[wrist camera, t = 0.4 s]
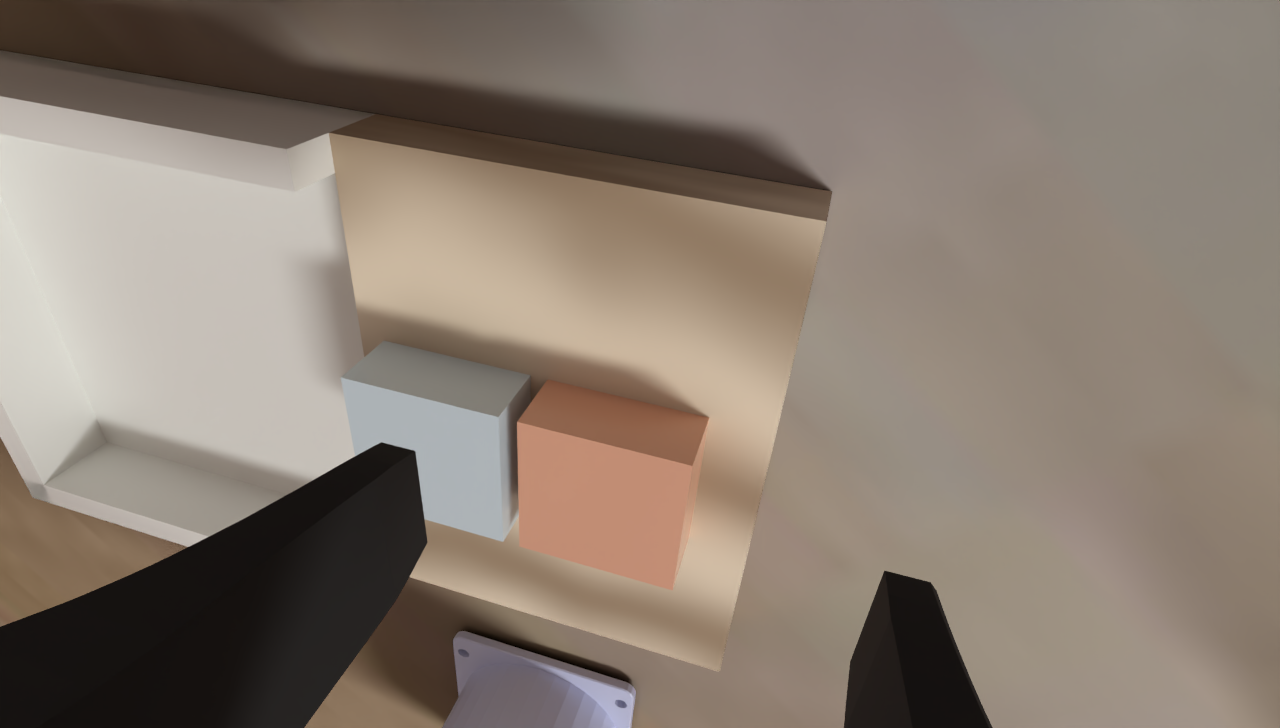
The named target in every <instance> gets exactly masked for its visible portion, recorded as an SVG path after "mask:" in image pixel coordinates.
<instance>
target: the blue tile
mask: <svg viewBox="0 0 1280 728" xmlns="http://www.w3.org/2000/svg"><path fill="white" fill-rule="evenodd" d="M341 382H342V387H343V393H344V398H345V404H346V409H347V415H348V420H349V425H350V431H351V436H352V442H353V447H354V453H355V456H356V455H358V454H360V453H362V452H364V451H365V450H367V449H369V448H371V447H373V446H375V445H377V444H379V443H381V442H382V443H386V444H390V445H394V446H398V447H402V448H406V449H410V450H414V451H415V452H416V459H417V467H418V474H419V482H420V489H421V497H422V504H423V512H424V519H425V520H429V521H432V522H436V523H439V524H443V525H446V526H450V527H453V528H457V529H460V530H463V531H467V532H470V533H474V534H477V535H481V536H484V537H488V538H491V539H495V540H498V541H502V542H503V541H504V540H505V538H506V536H507V535H508V533H509V531H510V530H511V528H512V527H513V525H514V523H515V522H516V520H517V518H518V517H519V499H518V447H517V421H518V420H519V418H520V417H521V416H522V414H523V413H524V411H525V410H526V409H527V407H528V406H529V405H530V403H531V375H527V374H523V373H519V372H515V371H510V370H506V369H502V368H498V367H494V366H489V365H485V364H481V363H477V362H473V361H468V360H464V359H460V358H456V357H451V356H447V355H443V354H439V353H435V352H430V351H426V350H422V349H418V348H414V347H409V346H405V345H401V344H397V343H392V342H388V341H383V342H382V343H381V344H379V345H378V346H377V347H376V348H375V349H373V350H372V351H371V352H370V353H369V354H368V355H366V356H365V357H364V358H363V359H362V360H361V361H359V362H358V363H357V364H356V365H355V366H354V367H352V368H351V369H350V370H349V371H348V372H347V373H345V374H344V375H343V376H342V377H341Z"/></svg>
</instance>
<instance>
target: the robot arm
mask: <svg viewBox="0 0 1280 728" xmlns="http://www.w3.org/2000/svg"><path fill="white" fill-rule="evenodd" d="M427 543H428V542H427V534H426V527H425V519H424V512H423V504H422V497H421V489H420V482H419V474H418V467H417V459H416V452H415V451H414V450H410V449H406V448H402V447H398V446H394V445H390V444H386V443H382V442H381V443H379V444H377V445H375V446H373V447H371V448H369V449H367V450H365V451H364V452H362V453H360V454H358V455H356V456H355V457H353V458H351V459H349V460H347V461H346V462H344V463H342V464H340V465H339V466H337V467H335V468H333V469H332V470H330V471H328V472H326V473H325V474H323V475H321V476H319V477H318V478H316V479H314V480H312V481H311V482H309V483H307V484H305V485H304V486H302V487H300V488H298V489H296V490H295V491H293V492H291V493H289V494H287V495H286V496H284V497H282V498H280V499H278V500H277V501H275V502H273V503H271V504H269V505H268V506H266V507H264V508H262V509H260V510H259V511H257V512H255V513H253V514H251V515H250V516H248V517H246V518H244V519H242V520H240V521H238V522H236V523H234V524H232V525H231V526H229V527H227V528H225V529H223V530H221V531H219V532H217V533H215V534H213V535H211V536H209V537H207V538H205V539H203V540H201V541H199V542H197V543H195V544H193V545H191V546H189V547H187V548H185V549H184V550H182V551H180V552H178V553H176V554H174V555H172V556H170V557H168V558H166V559H163V560H161V561H159V562H157V563H155V564H153V565H151V566H149V567H146V568H144V569H142V570H140V571H138V572H135V573H133V574H131V575H129V576H127V577H124V578H122V579H120V580H117V581H115V582H113V583H110V584H108V585H106V586H103V587H101V588H99V589H96V590H94V591H92V592H89V593H87V594H85V595H83V596H80V597H78V598H75V599H73V600H70V601H68V602H65V603H63V604H60V605H57V606H55V607H52V608H49V609H47V610H44V611H42V612H39V613H36V614H34V615H31V616H28V617H26V618H23V619H20V620H18V621H15V622H12V623H10V624H7V625H4V626H2V627H0V728H304V727H305V726H306V724H307V723H308V722H309V720H310V719H311V717H312V716H313V715H314V713H315V712H316V711H317V709H318V708H319V706H320V705H321V704H322V702H323V701H324V699H325V698H326V697H327V695H328V694H329V693H330V691H331V690H332V688H333V687H334V686H335V684H336V683H337V682H338V680H339V679H340V677H341V676H342V675H343V673H344V672H345V671H346V669H347V668H348V666H349V665H350V664H351V662H352V661H353V660H354V658H355V657H356V655H357V654H358V653H359V651H360V650H361V649H362V647H363V646H364V644H365V643H366V642H367V640H368V639H369V638H370V636H371V635H372V633H373V632H374V631H375V629H376V628H377V626H378V625H379V624H380V622H381V621H382V619H383V618H384V617H385V615H386V614H387V612H388V611H389V609H390V608H391V607H392V605H393V604H394V602H395V601H396V599H397V598H398V596H399V594H400V592H401V591H402V589H403V587H404V585H405V584H406V582H407V580H408V578H409V577H410V575H411V573H412V571H413V569H414V567H415V565H416V563H417V562H418V560H419V558H420V556H421V554H422V552H423V550H424V548H425V546H426V545H427ZM453 649H454V658H455V668H456V677H457V687H458V696H459V697H458V699H457V701H456V703H455V705H454V706H453V708H452V710H451V712H450V714H449V716H448V718H447V719H446V721H445V723H444V725H443V727H442V728H631V726H632V718H633V711H634V703H635V695H636V691H635V689H634V687H633V686H632V685H631V684H629V683H627V682H625V681H622V680H618V679H615V678H612V677H609V676H606V675H603V674H599V673H596V672H593V671H590V670H587V669H584V668H580V667H577V666H574V665H571V664H568V663H565V662H561V661H558V660H555V659H552V658H549V657H546V656H542V655H539V654H536V653H533V652H530V651H527V650H524V649H520V648H517V647H514V646H511V645H508V644H505V643H501V642H498V641H495V640H492V639H489V638H486V637H482V636H479V635H476V634H473V633H470V632H466V631H459V632H458V633H457V634H456V635H455V637H454V639H453ZM844 728H992V726H991V724H990V721H989V719H988V717H987V715H986V713H985V711H984V709H983V706H982V704H981V702H980V700H979V697H978V695H977V693H976V691H975V688H974V686H973V684H972V681H971V679H970V677H969V674H968V672H967V669H966V667H965V665H964V662H963V660H962V657H961V655H960V653H959V650H958V647H957V645H956V642H955V640H954V637H953V635H952V632H951V630H950V627H949V624H948V622H947V619H946V616H945V614H944V611H943V608H942V606H941V603H940V600H939V597H938V594H937V591H936V590H935V588H934V587H933V585H932V584H931V582H927V581H923V580H919V579H915V578H911V577H907V576H903V575H899V574H895V573H891V572H887V571H884V573H883V576H882V579H881V581H880V584H879V587H878V589H877V592H876V595H875V597H874V600H873V603H872V605H871V608H870V611H869V613H868V616H867V619H866V621H865V624H864V627H863V629H862V632H861V635H860V637H859V640H858V643H857V645H856V648H855V651H854V653H853V656H852V659H851V661H850V670H849V680H848V690H847V700H846V711H845V722H844Z"/></svg>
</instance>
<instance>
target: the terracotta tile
mask: <svg viewBox="0 0 1280 728" xmlns="http://www.w3.org/2000/svg"><path fill="white" fill-rule="evenodd" d="M708 422H709V417H704V416H700V415H696V414H692V413H688V412H683V411H679V410H675V409H671V408H667V407H662V406H658V405H654V404H650V403H645V402H641V401H637V400H633V399H629V398H624V397H620V396H616V395H612V394H607V393H603V392H599V391H595V390H591V389H586V388H582V387H578V386H574V385H570V384H565V383H561V382H557V381H553V380H547V381H546V382H545V384H544V385H543V387H542V388H541V389H540V391H539V392H538V393H537V395H536V396H535V398H534V399H533V400H532V402H531V403H530V405H529V406H528V407H527V409H526V410H525V411H524V413H523V414H522V416H521V417H520V418H519V420H518V421H517V447H518V499H519V547H523V548H526V549H530V550H533V551H537V552H540V553H544V554H547V555H551V556H554V557H558V558H561V559H565V560H568V561H571V562H575V563H578V564H582V565H585V566H589V567H592V568H596V569H599V570H603V571H606V572H610V573H613V574H617V575H620V576H624V577H627V578H631V579H634V580H638V581H641V582H645V583H648V584H652V585H655V586H659V587H662V588H666V589H669V590H673V588H674V585H675V581H676V578H677V575H678V572H679V569H680V565H681V562H682V559H683V556H684V552H685V549H686V546H687V543H688V540H689V535H690V529H691V523H692V517H693V511H694V505H695V499H696V493H697V487H698V481H699V476H700V470H701V464H702V458H703V452H704V446H705V440H706V434H707V428H708Z"/></svg>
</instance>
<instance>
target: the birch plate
mask: <svg viewBox="0 0 1280 728" xmlns="http://www.w3.org/2000/svg"><path fill="white" fill-rule="evenodd" d="M329 138H330V145H331V151H332V157H333V164H334V170H335V176H336V182H337V189H338V195H339V201H340V208H341V214H342V220H343V226H344V233H345V239H346V245H347V252H348V258H349V264H350V270H351V277H352V283H353V289H354V296H355V302H356V308H357V314H358V321H359V327H360V333H361V340H362V346H363V352H364V357H365V356H366V355H368V354H369V353H370V352H371V351H372V350H373V349H375V348H376V347H377V346H378V345H379V344H381V343H382V342H383V341H388V342H392V343H397V344H401V345H405V346H409V347H414V348H418V349H422V350H426V351H430V352H435V353H439V354H443V355H447V356H451V357H456V358H460V359H464V360H468V361H473V362H477V363H481V364H485V365H489V366H494V367H498V368H502V369H506V370H510V371H515V372H519V373H523V374H527V375H531V402H532V400H533V399H534V398H535V396H536V395H537V393H538V392H539V391H540V389H541V388H542V387H543V385H544V384H545V382H546V381H547V380H553V381H557V382H561V383H565V384H570V385H574V386H578V387H582V388H586V389H591V390H595V391H599V392H603V393H607V394H612V395H616V396H620V397H624V398H629V399H633V400H637V401H641V402H645V403H650V404H654V405H658V406H662V407H667V408H671V409H675V410H679V411H683V412H688V413H692V414H696V415H700V416H704V417H709V422H708V428H707V434H706V440H705V446H704V452H703V458H702V464H701V470H700V476H699V481H698V487H697V493H696V499H695V505H694V511H693V517H692V523H691V529H690V535H689V540H688V543H687V546H686V549H685V552H684V556H683V559H682V562H681V565H680V569H679V572H678V575H677V578H676V581H675V585H674V588H673V590H669V589H666V588H662V587H659V586H655V585H652V584H648V583H645V582H641V581H638V580H634V579H631V578H627V577H624V576H620V575H617V574H613V573H610V572H606V571H603V570H599V569H596V568H592V567H589V566H585V565H582V564H578V563H575V562H571V561H568V560H565V559H561V558H558V557H554V556H551V555H547V554H544V553H540V552H537V551H533V550H530V549H526V548H523V547H519V517H518V518H517V520H516V522H515V523H514V525H513V527H512V528H511V530H510V531H509V533H508V535H507V536H506V538H505V540H504V541H503V542H502V541H498V540H495V539H491V538H488V537H484V536H481V535H477V534H474V533H470V532H467V531H463V530H460V529H457V528H453V527H450V526H446V525H443V524H439V523H436V522H432V521H429V520H425V527H426V534H427V542H428V543H427V545H426V546H425V548H424V550H423V552H422V554H421V556H420V558H419V560H418V562H417V563H416V565H415V567H414V569H413V571H412V573H411V575H410V577H411V578H414V579H417V580H421V581H424V582H427V583H430V584H434V585H437V586H440V587H443V588H447V589H450V590H453V591H457V592H460V593H463V594H466V595H470V596H473V597H476V598H480V599H483V600H486V601H489V602H493V603H496V604H499V605H502V606H506V607H509V608H512V609H516V610H519V611H522V612H525V613H529V614H532V615H535V616H538V617H542V618H545V619H548V620H552V621H555V622H558V623H561V624H565V625H568V626H571V627H574V628H578V629H581V630H584V631H588V632H591V633H594V634H597V635H601V636H604V637H607V638H610V639H614V640H617V641H620V642H624V643H627V644H630V645H633V646H637V647H640V648H643V649H646V650H650V651H653V652H656V653H660V654H663V655H666V656H669V657H673V658H676V659H679V660H683V661H686V662H689V663H692V664H696V665H699V666H702V667H705V668H709V669H712V670H715V671H719V672H720V668H721V663H722V659H723V655H724V651H725V647H726V642H727V638H728V634H729V630H730V626H731V621H732V617H733V613H734V609H735V605H736V600H737V596H738V592H739V588H740V584H741V579H742V575H743V571H744V567H745V563H746V558H747V554H748V550H749V546H750V542H751V537H752V533H753V529H754V525H755V520H756V516H757V512H758V508H759V504H760V499H761V495H762V491H763V487H764V483H765V478H766V474H767V470H768V466H769V462H770V457H771V453H772V449H773V445H774V441H775V436H776V432H777V428H778V424H779V420H780V415H781V411H782V407H783V403H784V399H785V394H786V390H787V386H788V382H789V378H790V373H791V369H792V365H793V361H794V357H795V352H796V348H797V344H798V340H799V336H800V331H801V327H802V323H803V319H804V314H805V310H806V306H807V302H808V298H809V293H810V289H811V285H812V281H813V277H814V272H815V268H816V264H817V260H818V256H819V251H820V247H821V243H822V239H823V235H824V230H825V226H826V222H827V217H828V211H829V206H830V200H831V195H832V191H826V190H820V189H814V188H808V187H802V186H796V185H790V184H785V183H779V182H773V181H767V180H761V179H755V178H749V177H743V176H737V175H732V174H726V173H720V172H714V171H708V170H702V169H696V168H690V167H685V166H679V165H673V164H667V163H661V162H655V161H649V160H643V159H637V158H632V157H626V156H620V155H614V154H608V153H602V152H596V151H590V150H585V149H579V148H573V147H567V146H561V145H555V144H549V143H543V142H538V141H532V140H526V139H520V138H514V137H508V136H502V135H496V134H490V133H485V132H479V131H473V130H467V129H461V128H455V127H449V126H443V125H438V124H432V123H426V122H420V121H414V120H408V119H402V118H396V117H391V116H385V115H379V114H375V115H373V116H370V117H367V118H365V119H362V120H360V121H357V122H355V123H352V124H350V125H347V126H345V127H342V128H340V129H337V130H334V131H332V132H329Z"/></svg>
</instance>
